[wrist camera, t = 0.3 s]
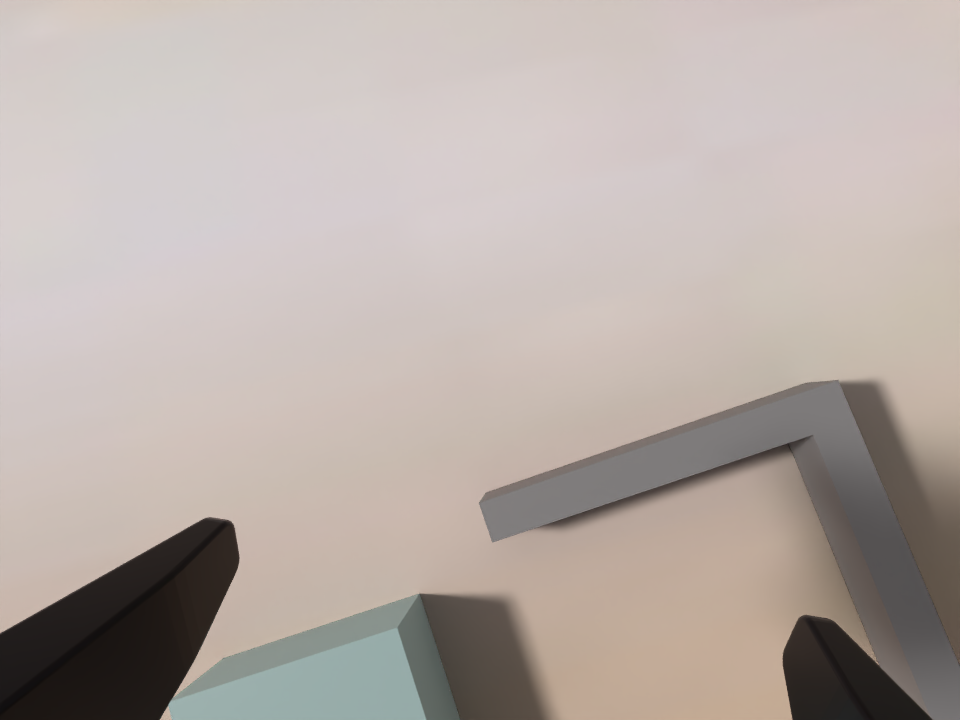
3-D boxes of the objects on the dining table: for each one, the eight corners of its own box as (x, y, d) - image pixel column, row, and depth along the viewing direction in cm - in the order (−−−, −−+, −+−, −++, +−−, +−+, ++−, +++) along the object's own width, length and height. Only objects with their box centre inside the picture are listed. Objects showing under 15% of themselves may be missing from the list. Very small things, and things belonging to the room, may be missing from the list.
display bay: (990, 824, 21) (1051, 881, 18) (633, 923, 22) (645, 989, 19) (806, 383, 23) (838, 380, 20) (485, 492, 24) (478, 503, 21)
